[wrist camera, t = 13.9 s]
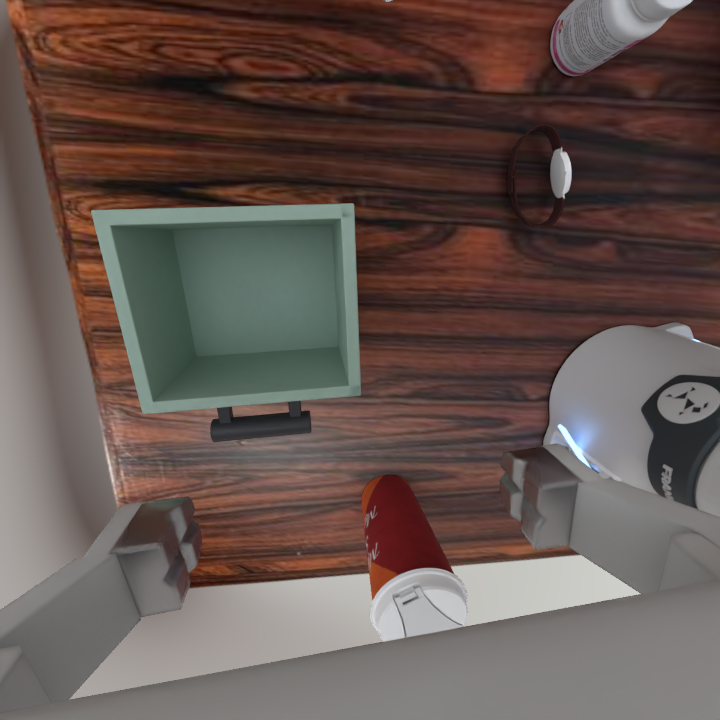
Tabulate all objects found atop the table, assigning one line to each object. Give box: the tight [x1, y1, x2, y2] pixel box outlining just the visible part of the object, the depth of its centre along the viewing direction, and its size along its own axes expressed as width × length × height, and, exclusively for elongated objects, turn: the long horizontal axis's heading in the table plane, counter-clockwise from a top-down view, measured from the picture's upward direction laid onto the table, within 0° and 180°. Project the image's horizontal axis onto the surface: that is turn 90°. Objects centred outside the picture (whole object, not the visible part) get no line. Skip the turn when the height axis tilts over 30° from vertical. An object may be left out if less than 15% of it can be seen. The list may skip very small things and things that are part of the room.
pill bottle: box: [550, 0, 693, 76], centre depth 24 cm, size 5×5×8 cm
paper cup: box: [362, 475, 468, 642], centre depth 33 cm, size 8×8×14 cm
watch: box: [506, 124, 571, 228], centre depth 29 cm, size 8×5×4 cm, turn 14°
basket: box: [91, 203, 361, 442], centre depth 27 cm, size 10×14×15 cm
